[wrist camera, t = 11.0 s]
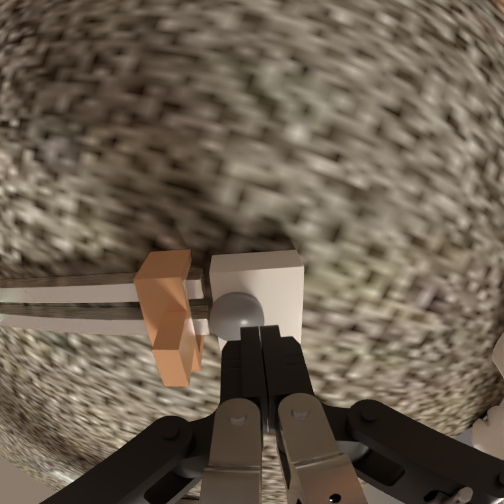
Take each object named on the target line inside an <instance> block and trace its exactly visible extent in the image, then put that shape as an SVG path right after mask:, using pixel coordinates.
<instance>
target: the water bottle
mask: <svg viewBox="0 0 504 504" xmlns="http://www.w3.org/2000/svg"><path fill="white" fill-rule="evenodd" d="M487 416H488V419H486V420H483V419H480V418H479V419H477V420H476V421H475V422H474V424H473V427H472V430H471V440H472V443H473V445H474V447H476V448H477V449H479V450H480V451H482V452H484V453H487V454H489V455H492V456H494V457H497V458H499V459H502V460H504V407H503V406H500V405H499V406H493V407H491V408H490V409H489V410H488V411H487ZM502 502H503V504H504V500H502Z"/></svg>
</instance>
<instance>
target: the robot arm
mask: <svg viewBox="0 0 504 504" xmlns="http://www.w3.org/2000/svg"><path fill="white" fill-rule="evenodd" d="M240 337H241V340H232V341H227V342H226V344H225V346H224V347H223V349H222V359H221V360H222V362H221V390H220V403H219V406H218V408H217V409H216V410H215V411H214V412H213V413H212V414H211V415H209V416H207V417H205V418H202V419H199V420H195V421H191V422H188V421H186V420H185V419H183V418H181V417H179V416H164V417H161V418H159V419H157V420H156V421H155V422H153V423H152V424H151V425H150V426H148V427H147V428H146V429H144V430H143V431H142V432H141V433H139V434H138V435H137V436H136V437H134V438H133V439H132V440H130V441H129V442H128V443H126V444H125V445H124V446H122V447H121V448H120V449H118V450H117V451H116V452H114V453H113V454H112V455H110V456H109V457H108V458H106V459H105V460H103V461H102V462H101V463H99V464H98V465H97V466H95V467H94V468H92V469H91V470H89V471H88V472H87V473H85V474H84V475H82V476H81V477H79V478H78V479H76V480H75V481H74V482H72V483H71V484H69V485H68V486H66V487H65V488H63V489H61V490H60V491H58V492H57V493H55V494H54V495H52V496H51V497H49V498H47V499H46V500H44V501H43V502H41V503H39V504H262V451H263V433H267V418H268V427H269V433H273V432H275V433H276V440H277V454H278V459H279V463H280V467H281V471H282V476H283V480H284V484H285V488H286V494H287V503H288V504H368V503H367V500H366V497H365V495H364V493H363V490H362V487H361V485H360V482H359V480H358V478H360V479H362V480H363V481H365V482H367V483H369V484H370V485H372V486H374V487H376V488H377V489H379V490H381V491H383V492H384V493H386V494H388V495H390V496H392V497H394V498H396V499H398V500H399V501H402V502H403V503H405V504H498V503H499V502H501V501H502V500H504V460H502V459H499V458H497V457H494V456H492V455H489V454H487V453H484V452H482V451H480V450H477V449H475V448H473V447H470V446H468V445H466V444H463V443H461V442H459V441H457V440H455V439H453V438H450V437H448V436H446V435H444V434H442V433H440V432H438V431H436V430H434V429H431V428H429V427H427V426H425V425H423V424H421V423H419V422H417V421H415V420H413V419H411V418H409V417H407V416H405V415H403V414H402V413H400V412H398V411H396V410H394V409H392V408H390V407H388V406H386V405H384V404H383V403H381V402H378V401H376V400H371V399H367V400H361V401H358V402H356V403H355V404H354V405H352V407H351V408H340V407H332V406H328V405H326V404H324V403H322V402H321V401H319V400H318V399H317V398H316V396H315V395H314V392H313V389H312V385H311V381H310V378H309V374H308V371H307V367H306V364H305V360H304V356H303V353H302V349H301V346H300V343H299V342H298V341H297V340H296V339H295V338H294V337H293V336H287V337H281V335H280V330H279V326H278V325H266V326H260V335H259V327H258V326H253V327H240ZM201 479H202V483H201V491H200V498H199V500H188V499H181V498H182V497H183V496H184V495H185V494H186V493H187V492H188V491H189V490H191V489H192V488H193V487H194V486H195V485H196V484H197V483H198V482H199V481H200V480H201Z"/></svg>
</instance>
